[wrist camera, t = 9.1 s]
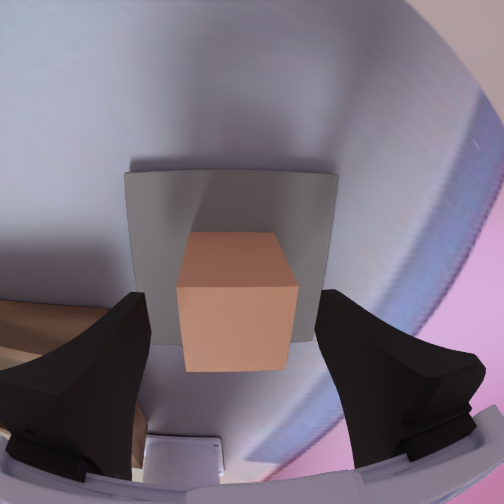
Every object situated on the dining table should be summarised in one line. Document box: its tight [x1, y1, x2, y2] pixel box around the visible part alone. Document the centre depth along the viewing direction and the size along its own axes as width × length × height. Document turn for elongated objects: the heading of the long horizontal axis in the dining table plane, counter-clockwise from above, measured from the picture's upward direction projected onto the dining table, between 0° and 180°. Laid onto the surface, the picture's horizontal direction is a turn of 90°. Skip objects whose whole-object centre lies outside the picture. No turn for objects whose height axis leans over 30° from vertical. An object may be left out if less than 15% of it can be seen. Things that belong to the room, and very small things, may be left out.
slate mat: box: [124, 169, 338, 345], centre depth 15 cm, size 10×10×1 cm
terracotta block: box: [176, 232, 299, 372], centre depth 13 cm, size 4×4×5 cm
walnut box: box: [0, 300, 148, 469], centre depth 15 cm, size 13×16×4 cm
